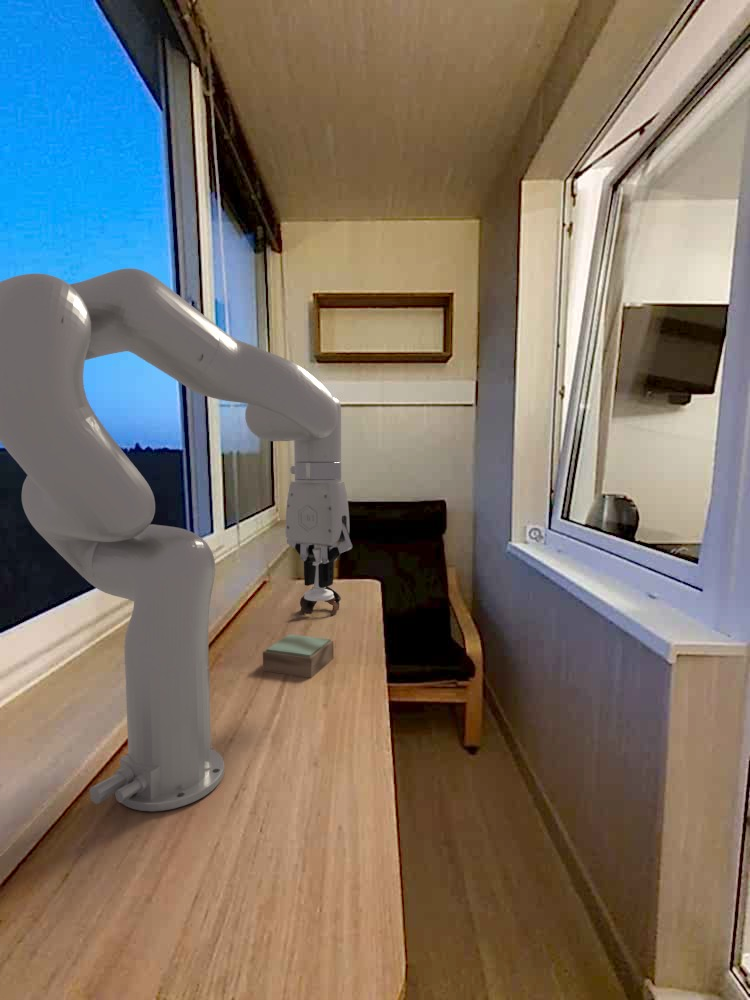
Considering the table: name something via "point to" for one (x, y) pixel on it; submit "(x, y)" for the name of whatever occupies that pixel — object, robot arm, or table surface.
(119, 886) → the table surface
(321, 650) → the pedestal
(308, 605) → the brown curved open ring
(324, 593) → the chess piece
